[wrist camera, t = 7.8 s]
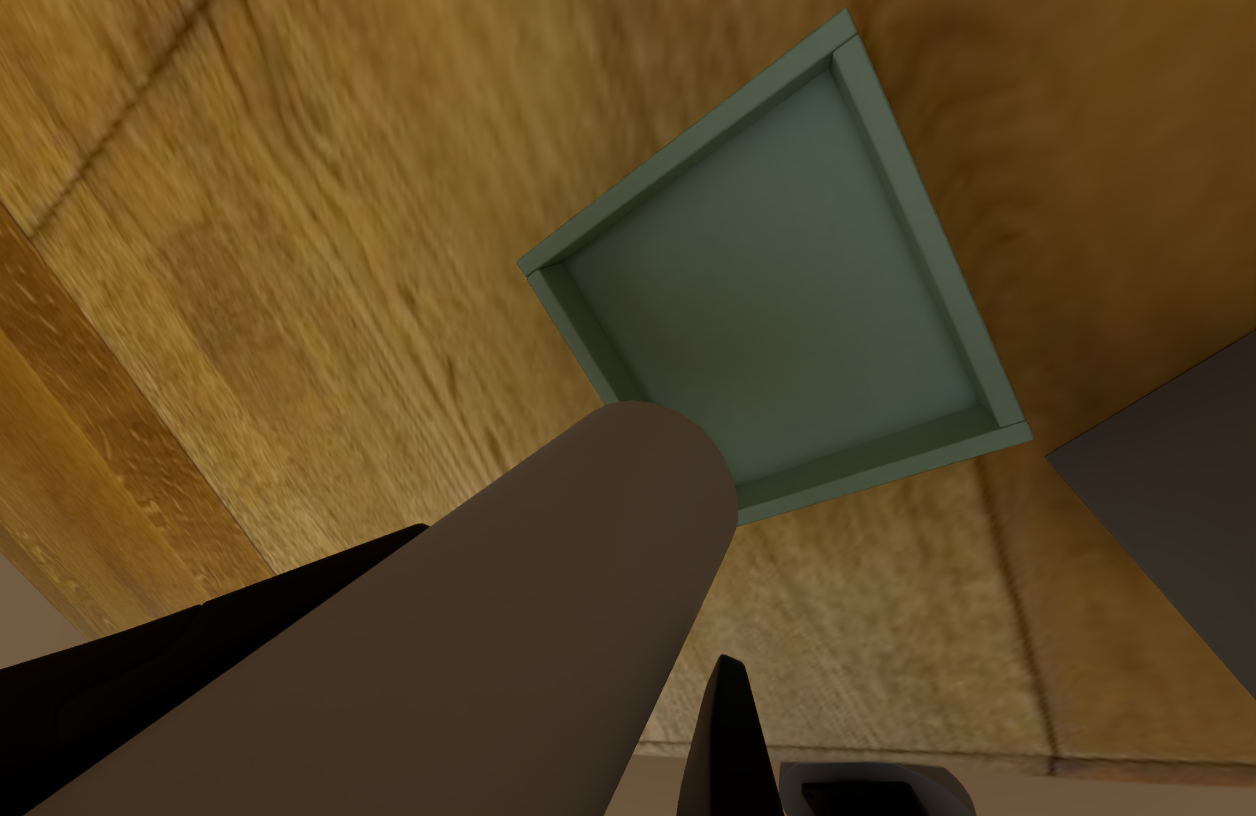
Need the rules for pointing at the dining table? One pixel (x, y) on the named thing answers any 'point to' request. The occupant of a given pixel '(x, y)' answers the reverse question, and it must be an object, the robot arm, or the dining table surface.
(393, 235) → the dining table surface
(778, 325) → the tray
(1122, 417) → the perfume bottle
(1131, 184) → the dining table surface
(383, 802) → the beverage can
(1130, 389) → the dining table surface
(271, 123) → the dining table surface
